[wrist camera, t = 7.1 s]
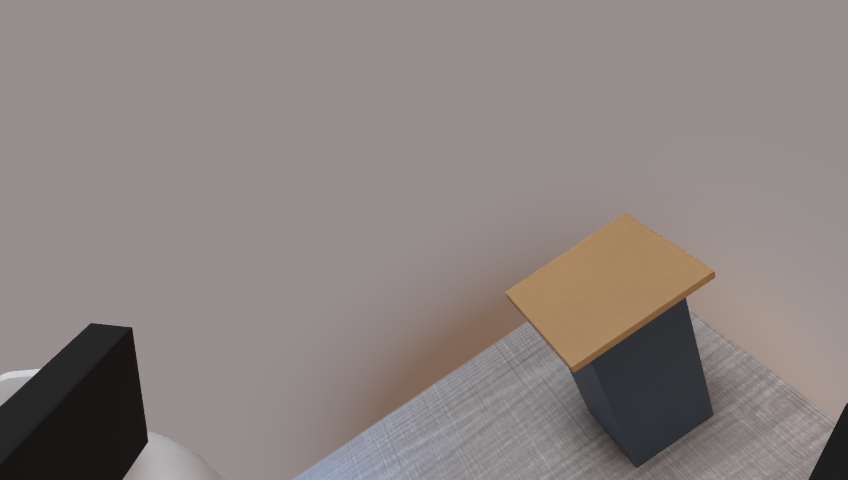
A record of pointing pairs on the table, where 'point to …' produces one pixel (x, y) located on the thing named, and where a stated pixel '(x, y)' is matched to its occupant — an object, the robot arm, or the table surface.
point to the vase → (159, 460)
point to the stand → (625, 332)
